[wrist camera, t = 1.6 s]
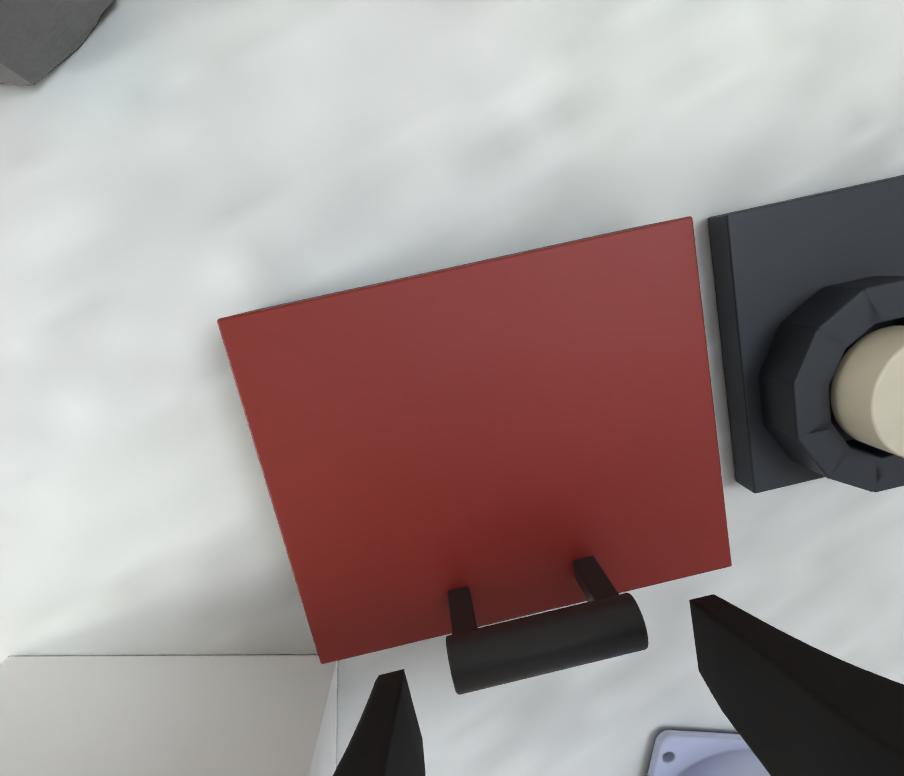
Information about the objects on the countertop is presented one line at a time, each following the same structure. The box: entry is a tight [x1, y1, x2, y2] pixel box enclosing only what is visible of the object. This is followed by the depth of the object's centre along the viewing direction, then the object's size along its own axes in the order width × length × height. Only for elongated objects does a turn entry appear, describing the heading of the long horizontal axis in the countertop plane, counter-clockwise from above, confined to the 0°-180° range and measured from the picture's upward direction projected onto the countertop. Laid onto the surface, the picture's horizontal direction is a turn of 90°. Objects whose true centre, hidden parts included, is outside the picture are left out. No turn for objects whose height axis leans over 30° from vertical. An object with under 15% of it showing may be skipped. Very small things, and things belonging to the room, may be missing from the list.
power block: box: [708, 175, 904, 493], centre depth 19 cm, size 10×8×3 cm
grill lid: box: [217, 217, 731, 695], centre depth 15 cm, size 11×13×4 cm
